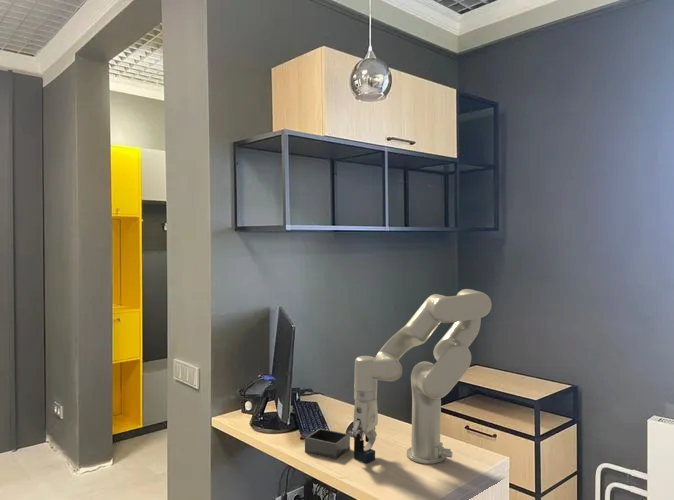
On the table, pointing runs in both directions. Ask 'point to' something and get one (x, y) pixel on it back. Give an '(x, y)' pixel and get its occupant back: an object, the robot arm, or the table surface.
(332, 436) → the open box
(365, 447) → the watch
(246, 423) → the table surface
